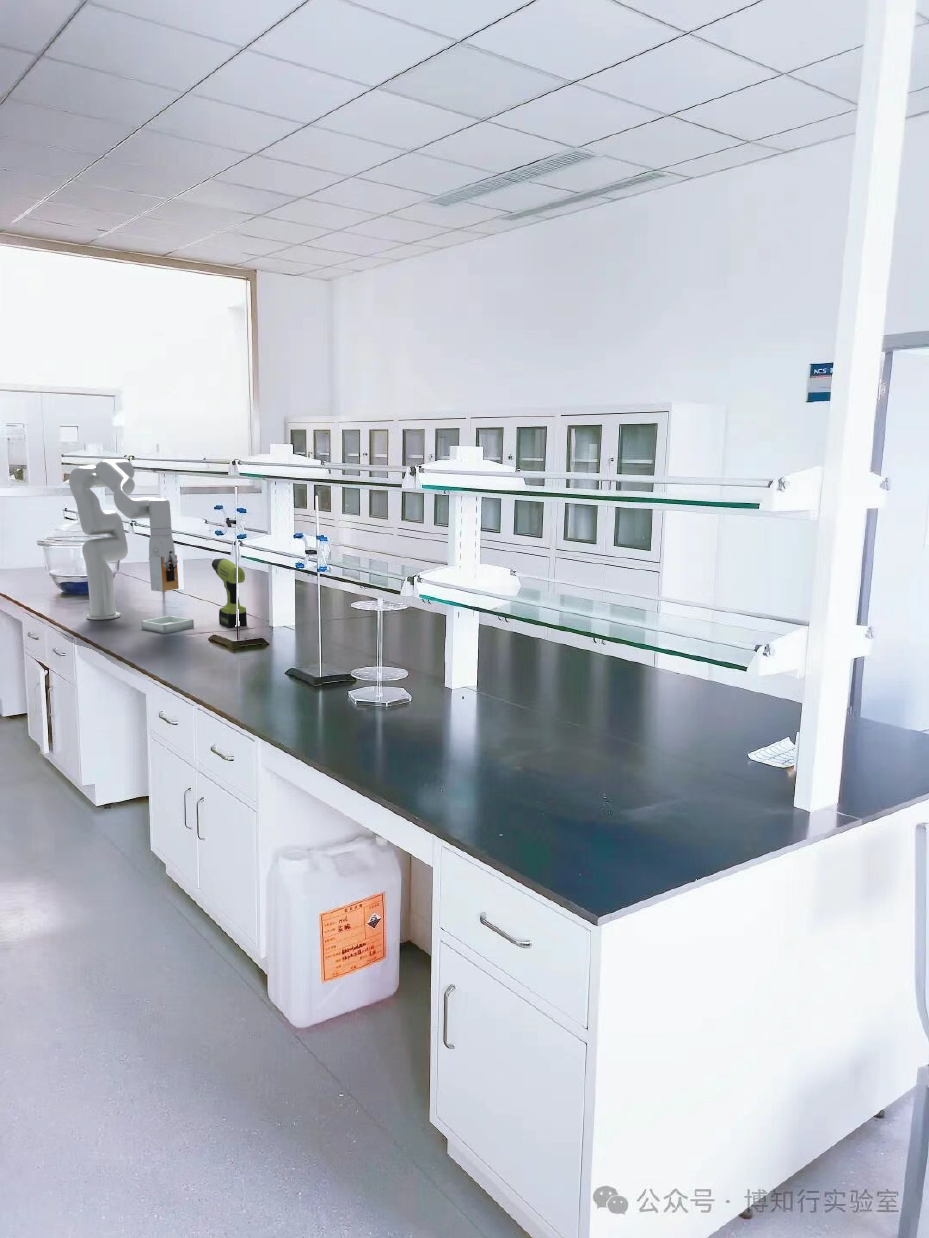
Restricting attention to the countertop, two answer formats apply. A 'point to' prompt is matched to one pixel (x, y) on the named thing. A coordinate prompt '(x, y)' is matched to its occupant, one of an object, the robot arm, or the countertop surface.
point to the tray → (167, 624)
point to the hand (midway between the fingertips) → (164, 579)
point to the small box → (161, 575)
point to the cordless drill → (230, 592)
